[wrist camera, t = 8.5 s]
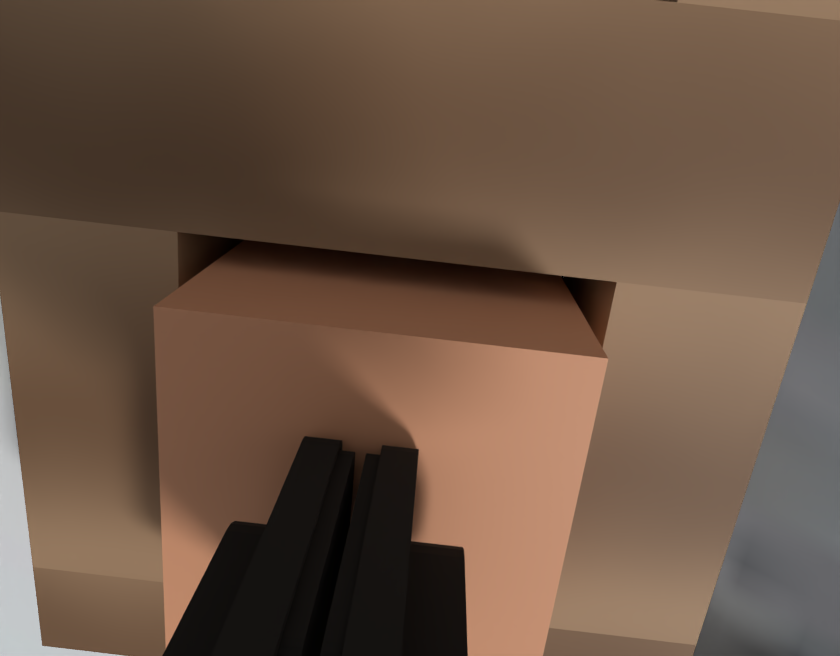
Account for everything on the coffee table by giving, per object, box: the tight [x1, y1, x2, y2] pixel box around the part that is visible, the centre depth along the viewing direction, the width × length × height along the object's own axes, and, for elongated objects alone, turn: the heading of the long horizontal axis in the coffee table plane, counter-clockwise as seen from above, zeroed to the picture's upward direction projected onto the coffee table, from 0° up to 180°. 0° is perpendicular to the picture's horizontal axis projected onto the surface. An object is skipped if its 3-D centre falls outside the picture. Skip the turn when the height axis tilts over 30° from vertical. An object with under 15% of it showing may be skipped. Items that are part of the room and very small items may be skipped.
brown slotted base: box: [0, 0, 840, 656], centre depth 12 cm, size 22×13×4 cm, turn 174°
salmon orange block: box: [153, 240, 608, 656], centre depth 12 cm, size 6×6×5 cm
